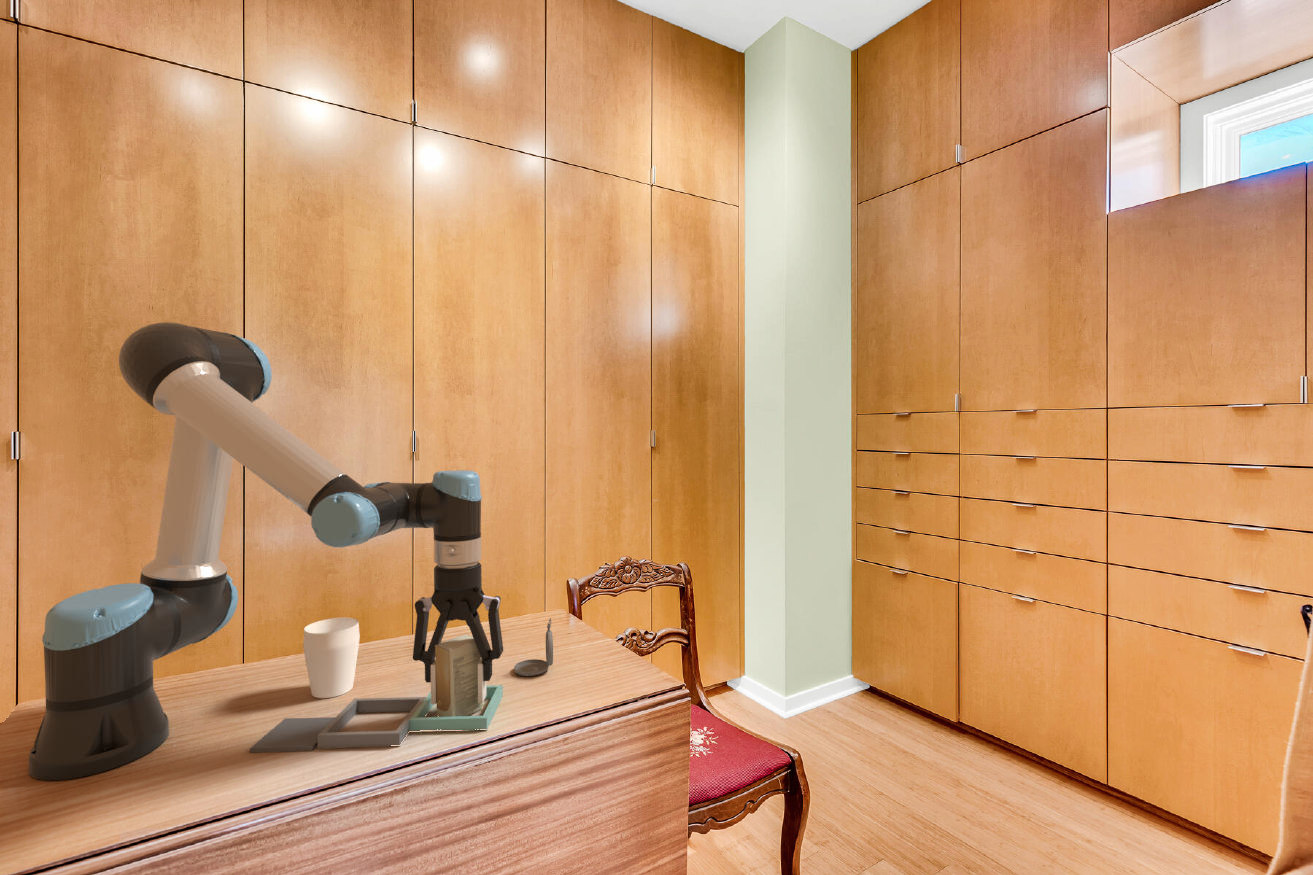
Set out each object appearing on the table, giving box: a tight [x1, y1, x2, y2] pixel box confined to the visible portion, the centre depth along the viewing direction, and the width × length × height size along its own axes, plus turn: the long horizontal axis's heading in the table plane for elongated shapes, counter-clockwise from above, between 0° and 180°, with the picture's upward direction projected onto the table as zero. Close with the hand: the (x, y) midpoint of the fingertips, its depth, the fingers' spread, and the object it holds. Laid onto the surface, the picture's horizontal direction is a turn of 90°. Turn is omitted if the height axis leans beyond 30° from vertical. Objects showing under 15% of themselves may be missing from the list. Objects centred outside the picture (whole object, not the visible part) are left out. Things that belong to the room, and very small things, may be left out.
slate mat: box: [249, 716, 337, 753], centre depth 92 cm, size 9×9×1 cm
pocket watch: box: [513, 617, 554, 677], centre depth 117 cm, size 8×8×10 cm
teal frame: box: [409, 684, 504, 731], centre depth 99 cm, size 12×12×2 cm
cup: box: [302, 617, 361, 699], centre depth 108 cm, size 9×9×12 cm
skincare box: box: [435, 633, 483, 717], centre depth 99 cm, size 6×4×12 cm
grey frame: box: [317, 696, 427, 750], centre depth 95 cm, size 12×12×2 cm
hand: (459, 699), depth 99 cm, fingers closed on skincare box, 7 cm apart
